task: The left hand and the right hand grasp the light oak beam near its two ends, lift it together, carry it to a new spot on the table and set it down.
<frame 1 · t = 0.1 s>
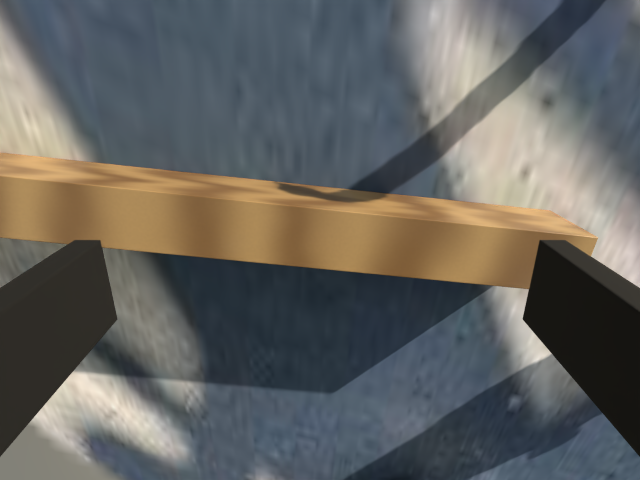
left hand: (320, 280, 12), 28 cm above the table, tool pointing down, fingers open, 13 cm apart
beam: (218, 202, 40), on the table
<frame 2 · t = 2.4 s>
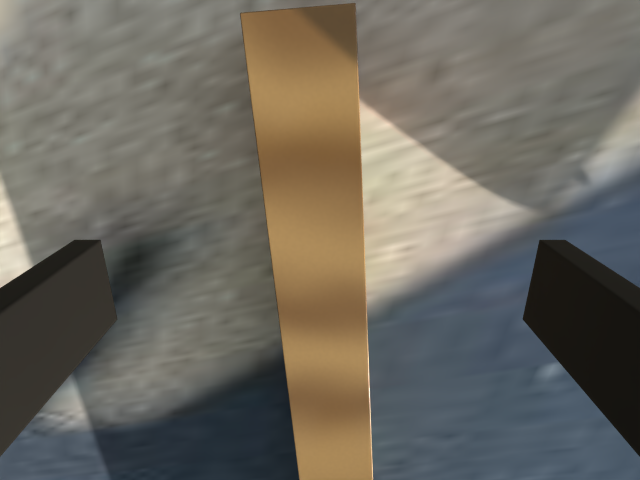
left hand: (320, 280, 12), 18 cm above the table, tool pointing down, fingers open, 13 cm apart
beam: (335, 428, 38), on the table
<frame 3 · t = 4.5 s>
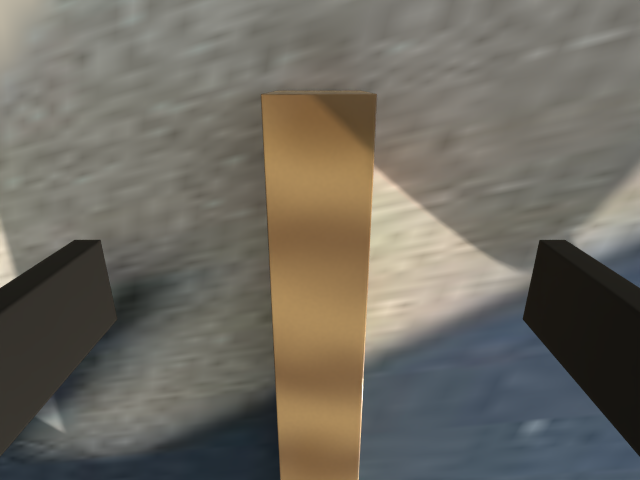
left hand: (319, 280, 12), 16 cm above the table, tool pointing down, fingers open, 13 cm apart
beam: (319, 470, 38), on the table, touching right hand
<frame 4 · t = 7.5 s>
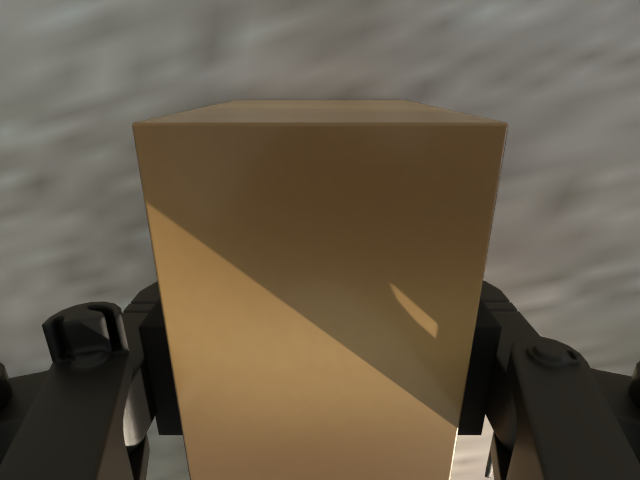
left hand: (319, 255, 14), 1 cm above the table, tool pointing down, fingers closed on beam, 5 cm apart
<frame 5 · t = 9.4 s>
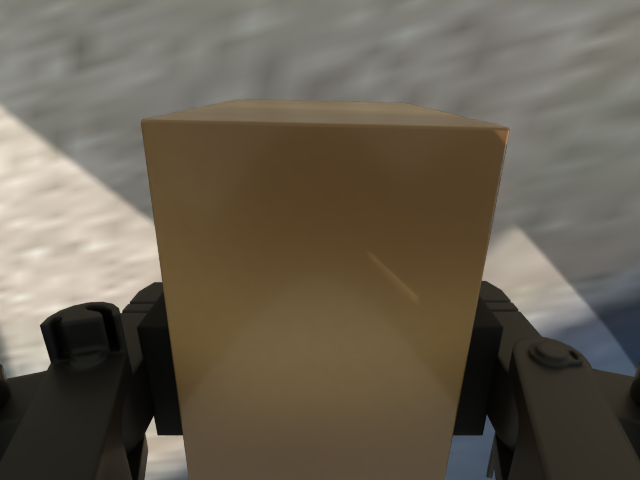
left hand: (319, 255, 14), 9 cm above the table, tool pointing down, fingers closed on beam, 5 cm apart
when the left hand's fingers open (2 cm above the table, at t = 11.6 s): beam drops 1 cm, on the table.
when the right hand's fingers open (4 cm above the table, at t = 11.7 s): beam stays where it is, on the table.
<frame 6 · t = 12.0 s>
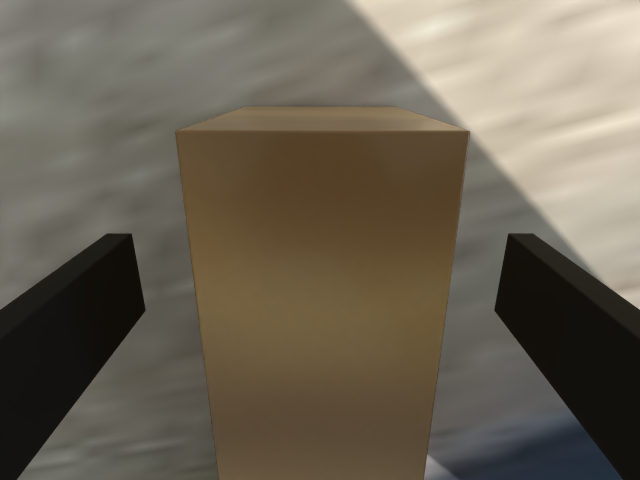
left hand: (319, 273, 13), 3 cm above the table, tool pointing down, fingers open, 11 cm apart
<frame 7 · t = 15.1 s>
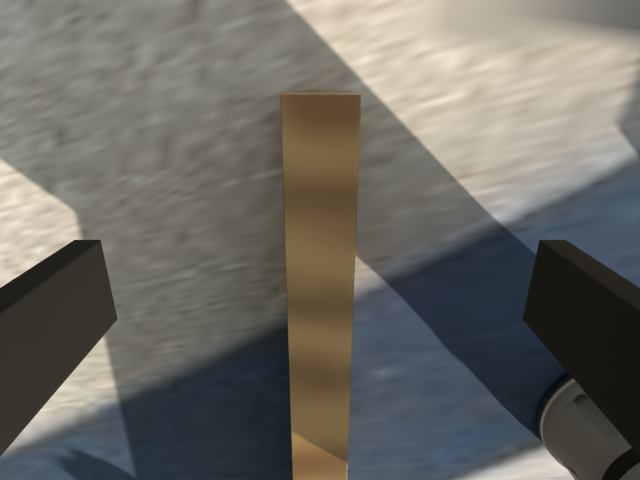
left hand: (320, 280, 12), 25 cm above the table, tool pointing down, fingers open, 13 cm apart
beam: (319, 403, 46), on the table
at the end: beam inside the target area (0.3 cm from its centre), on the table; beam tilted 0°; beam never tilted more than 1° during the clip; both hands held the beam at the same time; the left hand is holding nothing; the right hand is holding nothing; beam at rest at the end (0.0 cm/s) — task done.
